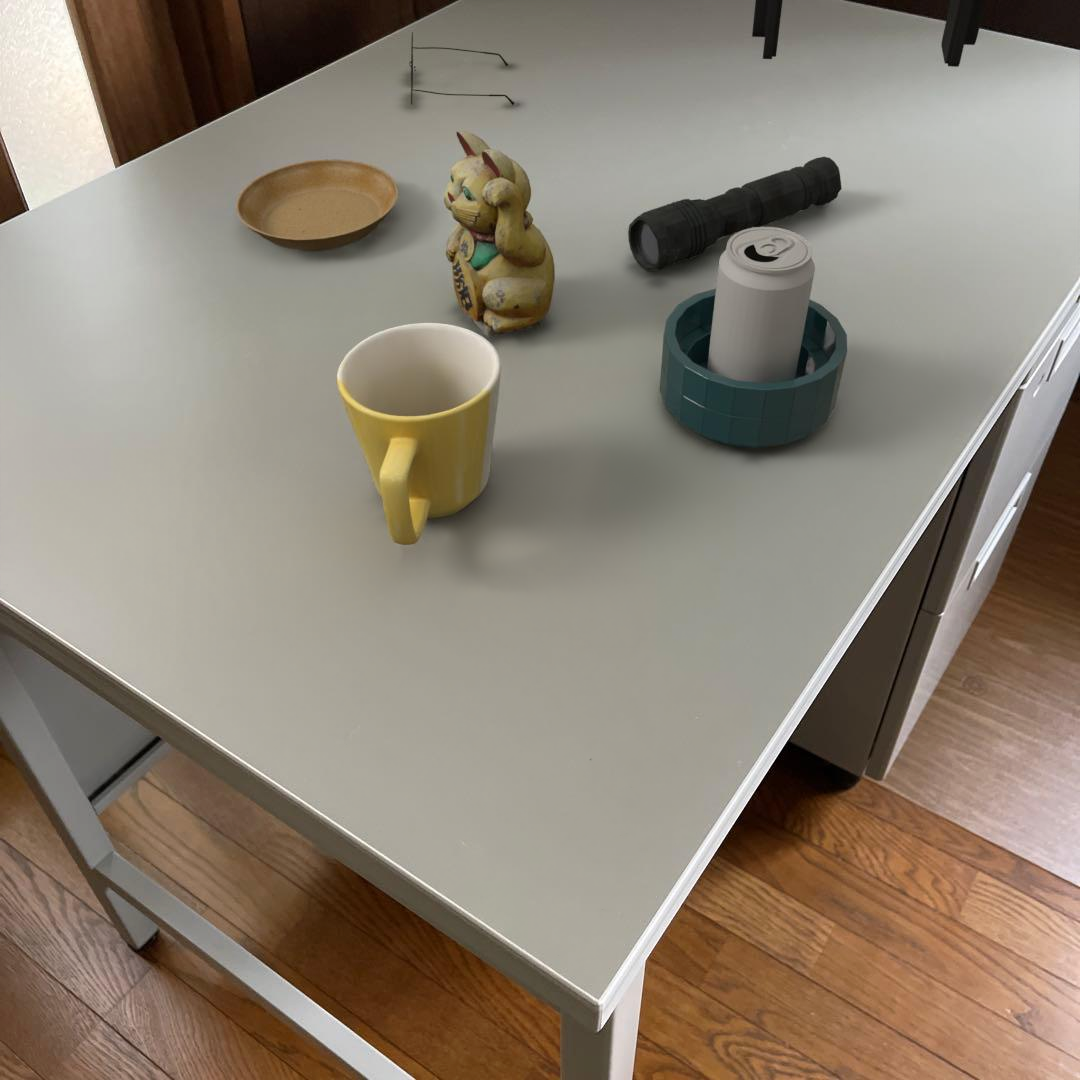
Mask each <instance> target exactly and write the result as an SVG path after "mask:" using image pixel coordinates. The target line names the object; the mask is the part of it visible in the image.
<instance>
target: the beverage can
mask: <svg viewBox="0 0 1080 1080" xmlns="http://www.w3.org/2000/svg"><path fill="white" fill-rule="evenodd" d="M812 255H813V248H812V245H811V244H810V242H809V241H808V240H807V239H806V238H804V236H802V235H800V234H798V233H797V232H795V231H792V230H790V229H789V230H788V229H785V228H780V227H775V226H774V227H773V226H761V227H752V228H748V229H745V230H742V231H739V232H737V233H733V234H732V235H731V236H730V237H729V238H728V240H727V242H726V248H725V250H724V251H723V252H722V253H721V255H720V257H719V260H718V269H717V278H716V287H715V289H716V294H715V303H714V312H713V321H712V330H711V338H710V347H709V356H708V365H707V370H708V371H710V372H712V373H714V374H716V375H720V376H723V377H727V378H730V379H734V380H737V381H747V382H758V383H772V382H782V381H790V380H793V379H795V376H796V370H797V365H798V359H799V354H800V348H801V343H802V338H803V332H804V327H805V321H806V316H807V310H808V305H809V299H810V300H811V293H812V288H813V282H814V277H815V272H816V266H815V262H814V260H813V258H812Z"/></svg>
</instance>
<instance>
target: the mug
mask: <svg viewBox="0 0 1080 1080" xmlns="http://www.w3.org/2000/svg"><path fill="white" fill-rule="evenodd" d="M501 377H502V361H501V357H500V355H499V352H498V351H497V349H496V348H495V346H494V345H493V344H492V343H491V342H490V341H489V340H487V339H486V338H485V337H484V336H482V335H481V334H480V333H479V334H478V333H477V332H475V331H472V330H471V329H467V328H465V327H462V326H458V325H454V324H448V323H440V322H439V323H438V322H419V323H418V322H417V323H408V324H403V325H398V326H394V327H391V328H386V329H384V330H381V331H379V332H376V333H373V334H372V335H370V336H368V337H366V338H365V339H363V340H361V341H359V342H358V343H357V344H356V345H355V346H354V347H353V348H351V349H350V350H349V351H348V352H347V353H346V355H345V356H344V358H343V359H342V361H341V363H340V365H339V366H338V369H337V374H336V383H337V389H338V391H339V394H340V397H341V401H342V403H343V406H344V408H345V411H346V414H347V416H348V418H349V421H350V424H351V426H352V429H353V432H354V434H355V436H356V438H357V442H358V443H359V447H360V449H361V451H362V454H363V457H364V459H365V462H366V464H367V467H368V469H369V472H370V475H371V479H372V481H373V485H374V486H375V488H376V490H377V492H378V494H379V495H380V497H381V499H382V505H383V510H384V515H385V519H386V524H387V528H388V532H389V536H390V537H391V540H392V541H393V542H394V543H395V544H397V545H402V546H410V545H415V544H417V542H419V540H420V538H421V536H422V533H423V530H424V527H425V525H426V523H427V519H435V518H442V517H446V516H450V515H453V514H456V513H457V512H459V511H461V510H462V509H464V508H465V507H466V506H468V505H469V504H470V503H471V502H473V501H474V500H476V498H478V496H480V495H481V493H482V492H483V491H484V489H485V487H486V486H487V484H488V481H489V478H490V474H491V473H490V472H491V463H492V462H491V461H492V453H493V444H494V436H495V429H496V428H495V426H496V419H497V411H498V404H499V395H500V386H501Z"/></svg>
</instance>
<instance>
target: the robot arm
mask: <svg viewBox="0 0 1080 1080" xmlns="http://www.w3.org/2000/svg"><path fill="white" fill-rule="evenodd" d="M986 1H987V0H950V2H949V6H948V11H947V14H946V15H947V16H946V20H945V24H944V28H943V34H942V38H941V51H942V56H943V62H944V64H947V66H948V67H951V68H953V67H955V68H957V67H959V66H960V63H961V60H962V56H963V52H964V48H965V46H966V45H967V46H974V45H976V42H977V39H978V35H979V31H980V27H981V24H982V23H981V22H982V18H983V14H984V10H985V5H986ZM782 9H783V0H755V3H754V14H753V22H752V33H751V37H752V38H764V41H763V51H762V60H773V58H777V52H778V44H779V43H778V42H779V36H780V35H779V34H780V27H781V18H782Z"/></svg>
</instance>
